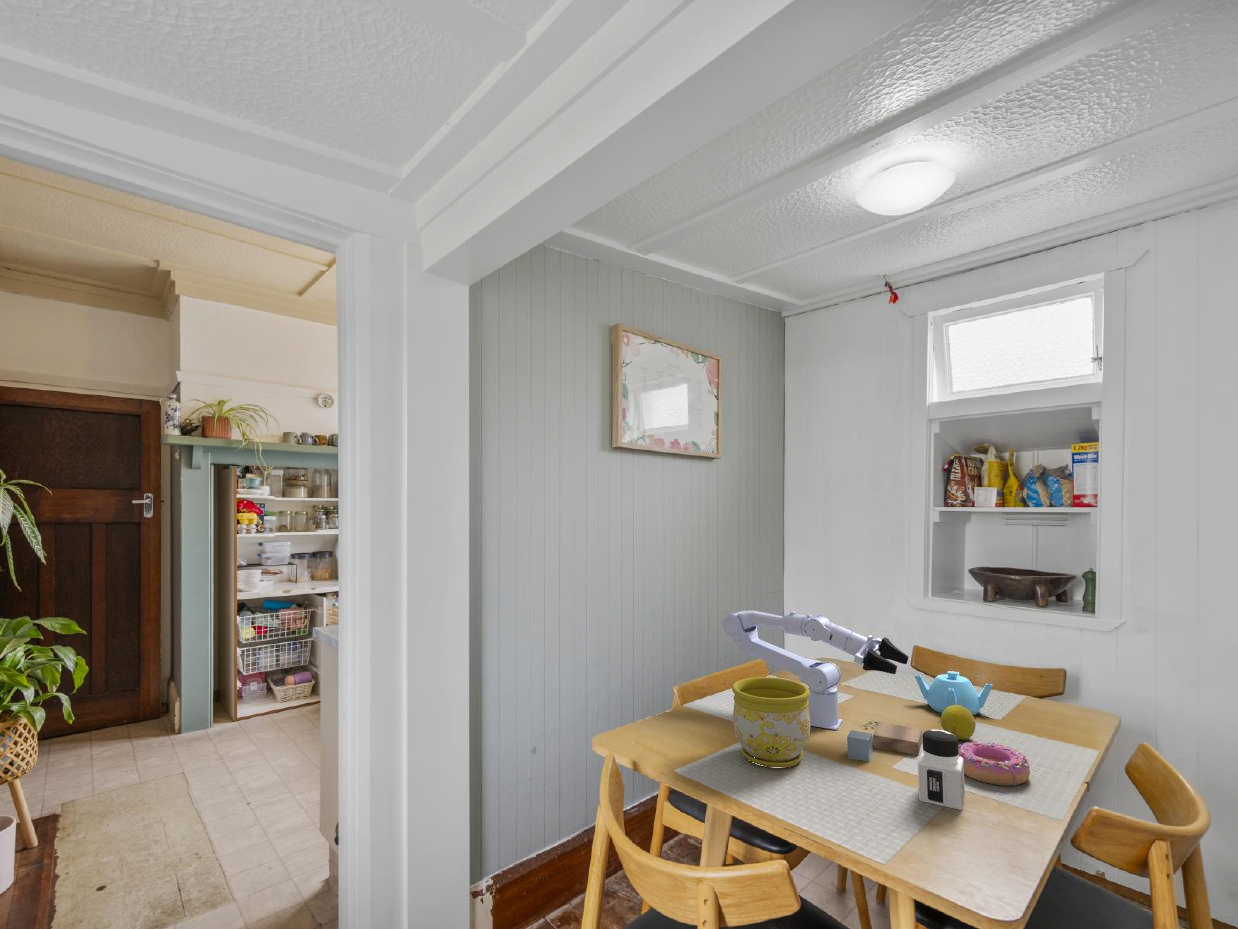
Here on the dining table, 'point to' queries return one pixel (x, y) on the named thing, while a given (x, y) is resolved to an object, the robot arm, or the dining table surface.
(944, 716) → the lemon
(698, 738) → the dining table surface
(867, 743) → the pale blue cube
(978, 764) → the donut
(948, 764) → the container
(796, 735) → the flowerpot
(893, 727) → the walnut block
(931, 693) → the teapot
